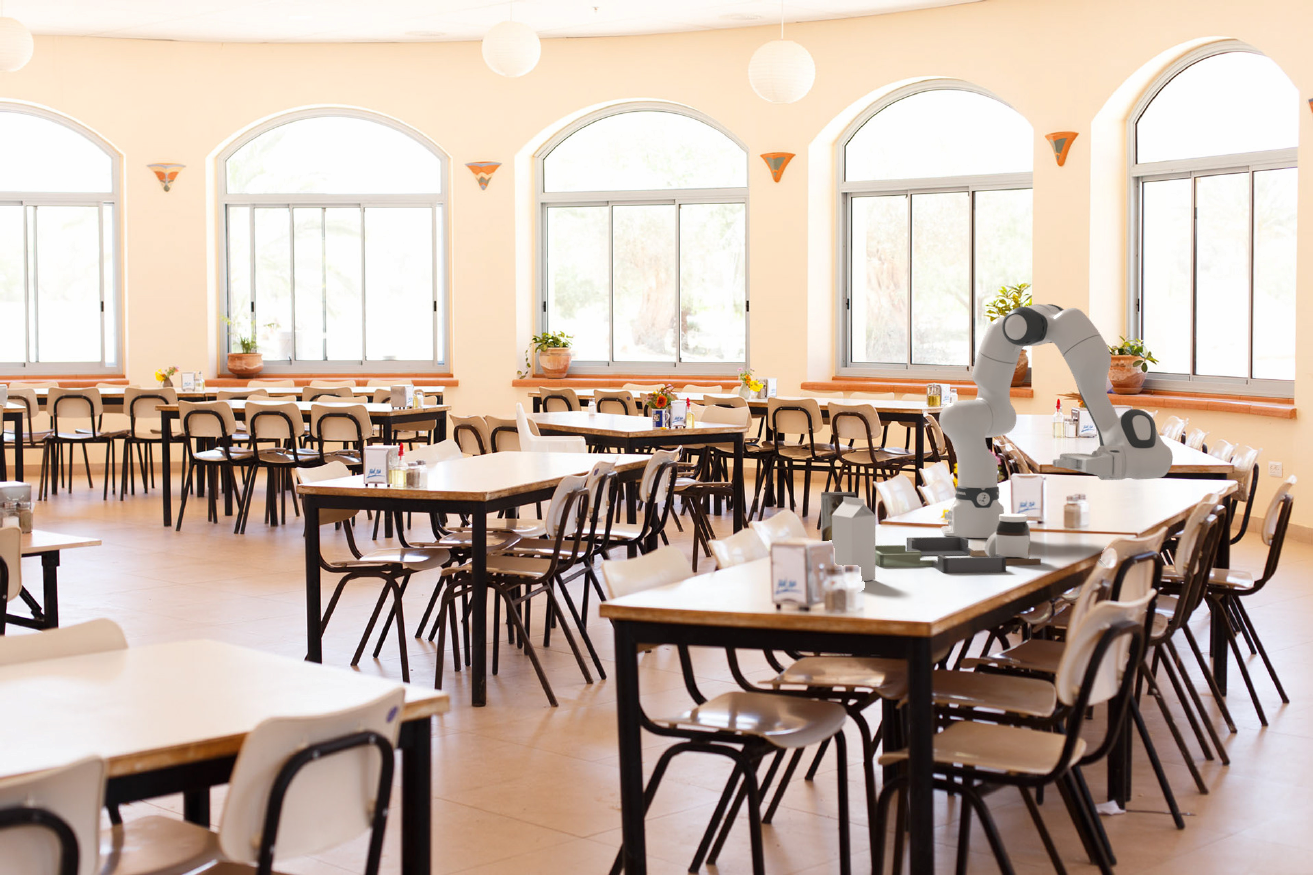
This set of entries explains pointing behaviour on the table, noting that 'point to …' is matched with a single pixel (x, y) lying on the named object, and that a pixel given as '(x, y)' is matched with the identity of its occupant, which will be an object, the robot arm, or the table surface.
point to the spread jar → (1010, 538)
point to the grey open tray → (939, 546)
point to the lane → (903, 558)
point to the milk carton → (854, 536)
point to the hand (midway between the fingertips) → (1054, 463)
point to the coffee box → (830, 510)
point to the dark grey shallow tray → (970, 564)
